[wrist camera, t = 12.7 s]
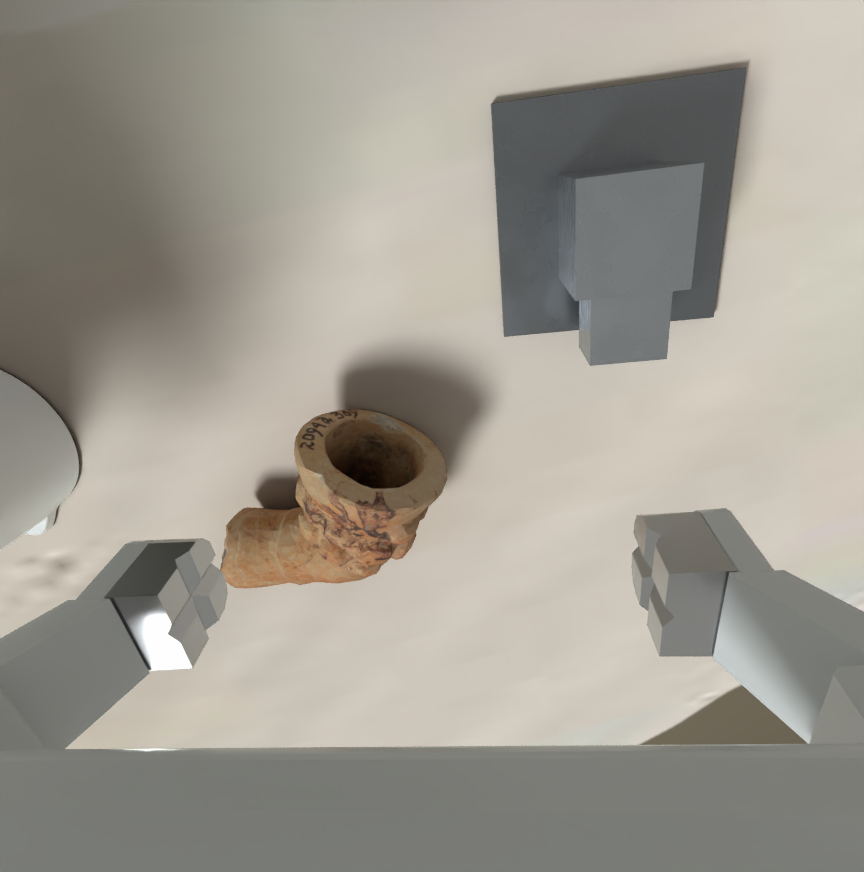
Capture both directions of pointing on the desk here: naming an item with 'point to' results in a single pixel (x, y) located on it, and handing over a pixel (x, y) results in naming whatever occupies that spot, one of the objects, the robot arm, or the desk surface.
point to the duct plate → (599, 149)
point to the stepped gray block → (628, 253)
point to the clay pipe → (340, 504)
